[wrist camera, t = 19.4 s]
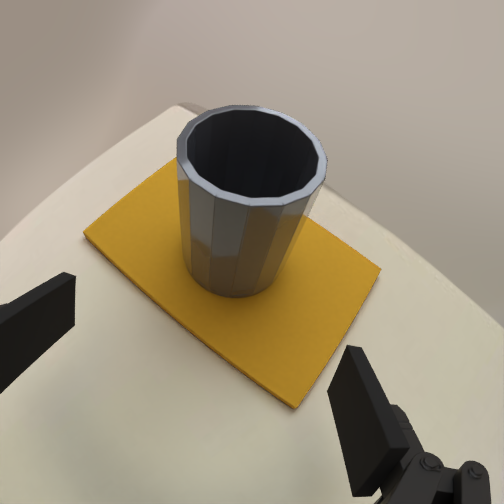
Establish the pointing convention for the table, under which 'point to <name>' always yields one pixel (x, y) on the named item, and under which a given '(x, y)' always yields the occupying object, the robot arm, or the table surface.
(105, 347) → the table surface
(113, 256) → the mat
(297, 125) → the steel tumbler
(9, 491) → the table surface
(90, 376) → the table surface
